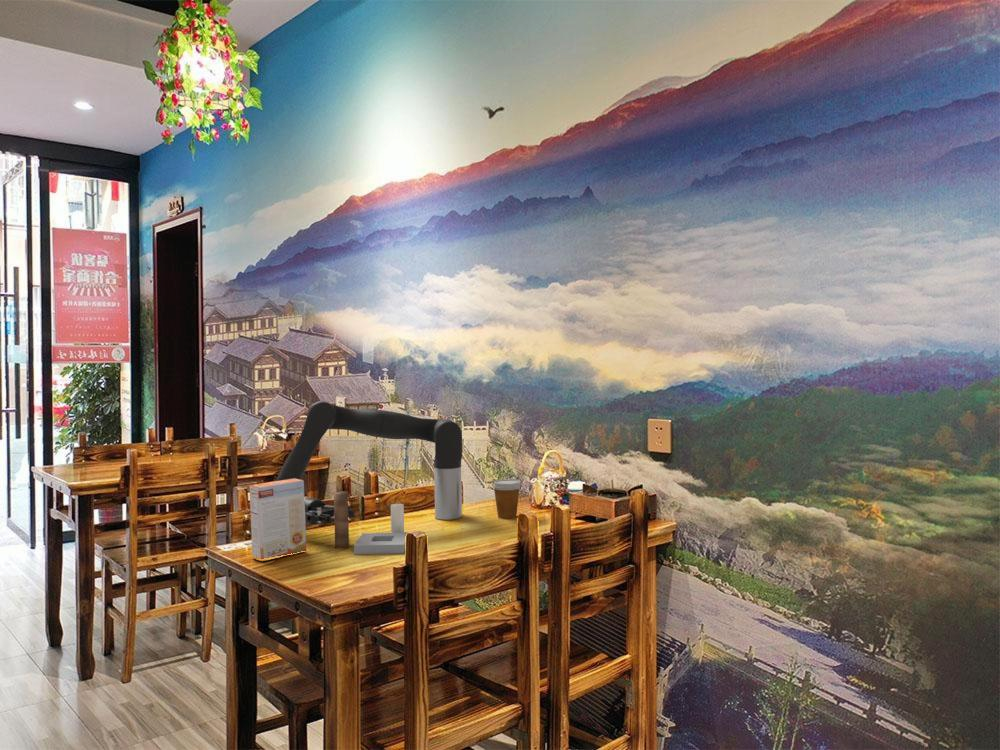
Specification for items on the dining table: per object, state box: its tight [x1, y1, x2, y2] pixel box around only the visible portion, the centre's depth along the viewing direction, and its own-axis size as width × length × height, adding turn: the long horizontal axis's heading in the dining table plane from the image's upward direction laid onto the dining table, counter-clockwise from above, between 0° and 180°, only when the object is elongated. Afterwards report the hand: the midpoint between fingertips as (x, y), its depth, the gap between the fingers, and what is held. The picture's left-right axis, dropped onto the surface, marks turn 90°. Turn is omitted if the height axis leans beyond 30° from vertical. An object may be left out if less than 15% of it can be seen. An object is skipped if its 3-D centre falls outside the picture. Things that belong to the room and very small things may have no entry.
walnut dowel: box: [333, 491, 350, 549], centre depth 215 cm, size 4×4×16 cm
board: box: [353, 531, 408, 555], centre depth 214 cm, size 14×14×2 cm
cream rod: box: [390, 503, 405, 533], centre depth 225 cm, size 4×4×10 cm
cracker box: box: [249, 478, 307, 559], centre depth 206 cm, size 14×6×21 cm, turn 134°
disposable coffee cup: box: [492, 479, 521, 520], centre depth 250 cm, size 10×10×12 cm
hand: (342, 516), depth 214 cm, fingers open, 8 cm apart
